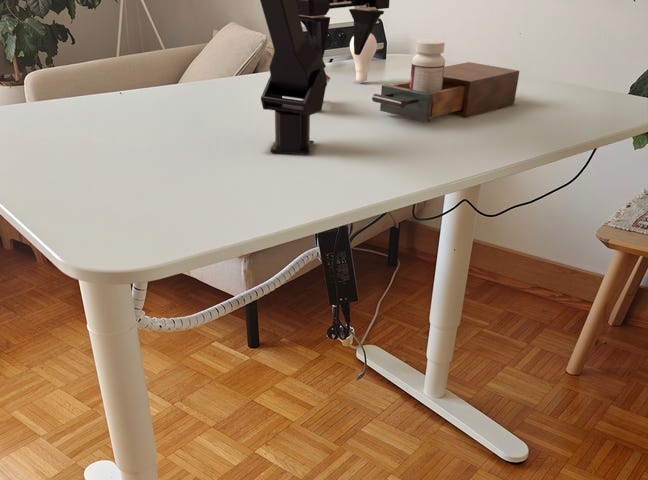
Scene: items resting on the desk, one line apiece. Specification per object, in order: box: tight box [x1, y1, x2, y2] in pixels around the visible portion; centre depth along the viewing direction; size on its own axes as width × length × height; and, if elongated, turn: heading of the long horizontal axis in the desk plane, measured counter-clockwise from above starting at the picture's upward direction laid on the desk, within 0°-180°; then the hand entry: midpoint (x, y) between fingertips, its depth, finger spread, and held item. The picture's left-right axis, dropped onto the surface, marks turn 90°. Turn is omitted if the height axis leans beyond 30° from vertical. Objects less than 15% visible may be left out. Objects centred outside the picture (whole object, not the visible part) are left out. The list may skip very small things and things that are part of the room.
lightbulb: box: [349, 32, 378, 84], centre depth 156 cm, size 6×6×11 cm
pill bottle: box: [409, 38, 446, 94], centre depth 129 cm, size 6×6×11 cm
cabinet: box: [443, 61, 520, 118], centre depth 139 cm, size 17×13×7 cm
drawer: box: [371, 80, 467, 123], centre depth 131 cm, size 20×11×5 cm, turn 132°
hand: (338, 57), depth 118 cm, fingers open, 9 cm apart
